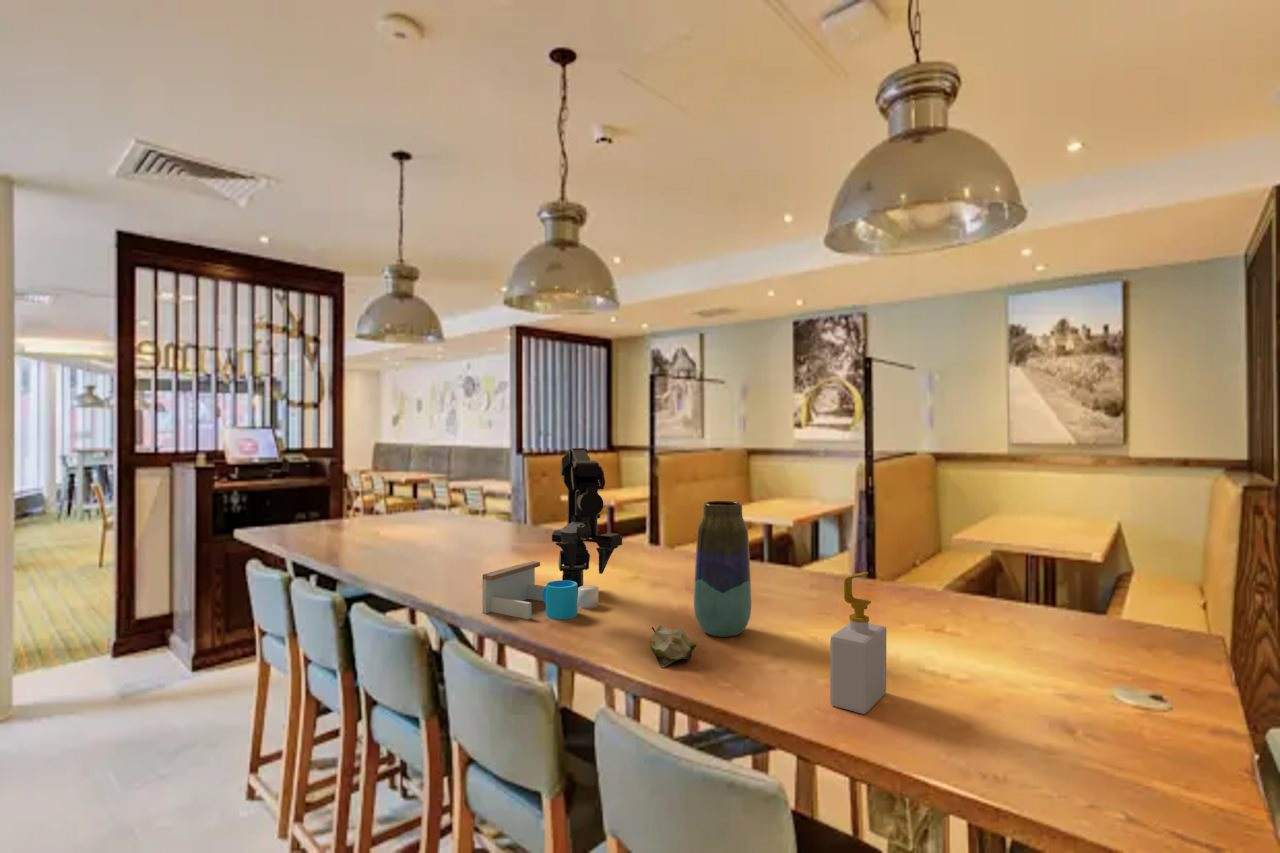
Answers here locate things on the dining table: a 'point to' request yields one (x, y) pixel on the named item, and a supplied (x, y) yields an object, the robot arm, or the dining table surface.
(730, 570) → the vase
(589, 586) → the cream rounded cylinder
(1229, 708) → the dining table surface
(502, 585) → the counter bay
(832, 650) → the soap bottle
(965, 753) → the dining table surface
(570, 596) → the mug
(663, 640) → the fruit
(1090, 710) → the dining table surface
